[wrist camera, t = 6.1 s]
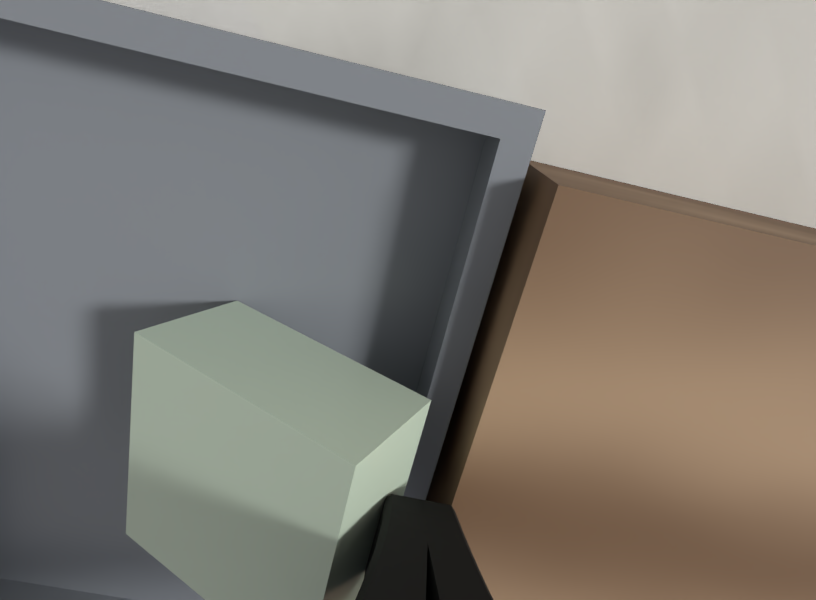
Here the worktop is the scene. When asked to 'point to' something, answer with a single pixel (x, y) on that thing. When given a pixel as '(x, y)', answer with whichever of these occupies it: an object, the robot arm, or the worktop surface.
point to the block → (262, 456)
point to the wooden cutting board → (639, 401)
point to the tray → (215, 246)
